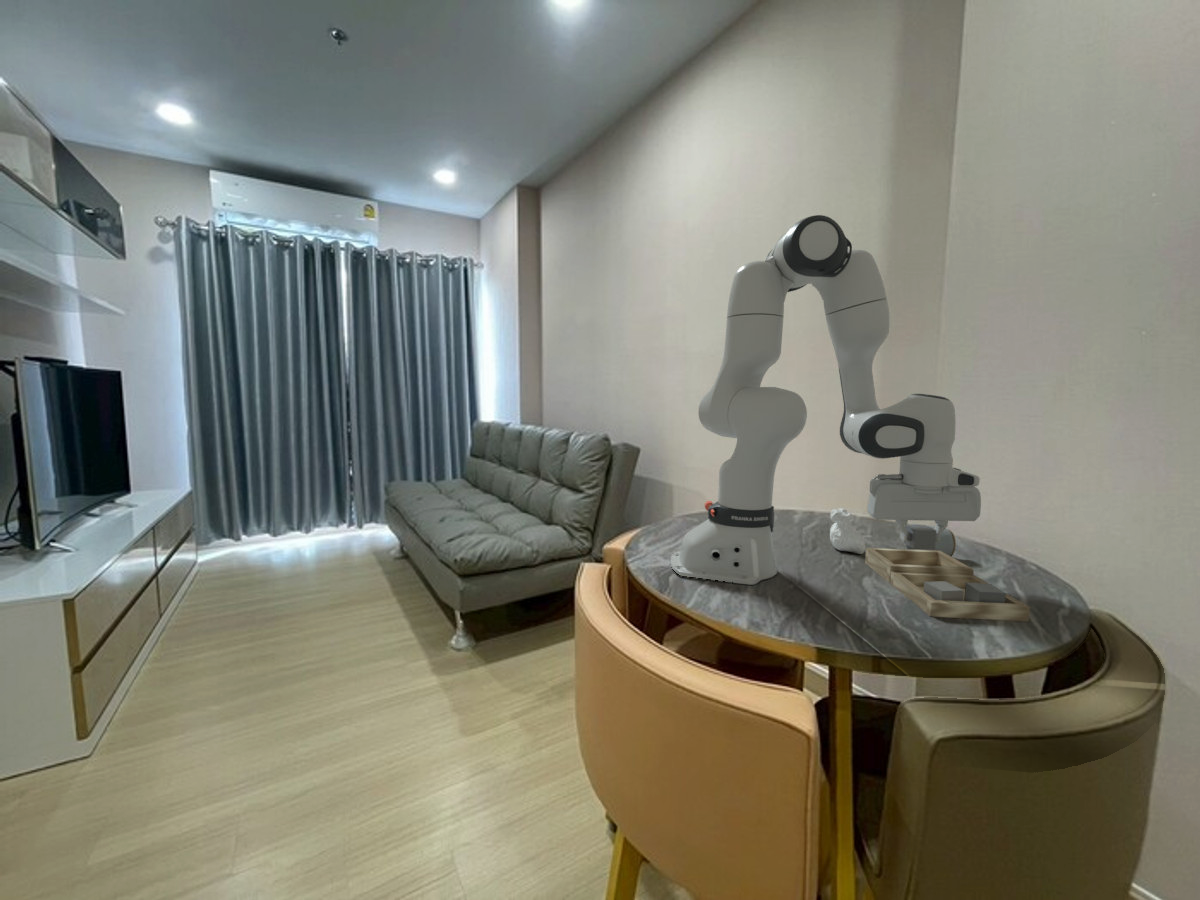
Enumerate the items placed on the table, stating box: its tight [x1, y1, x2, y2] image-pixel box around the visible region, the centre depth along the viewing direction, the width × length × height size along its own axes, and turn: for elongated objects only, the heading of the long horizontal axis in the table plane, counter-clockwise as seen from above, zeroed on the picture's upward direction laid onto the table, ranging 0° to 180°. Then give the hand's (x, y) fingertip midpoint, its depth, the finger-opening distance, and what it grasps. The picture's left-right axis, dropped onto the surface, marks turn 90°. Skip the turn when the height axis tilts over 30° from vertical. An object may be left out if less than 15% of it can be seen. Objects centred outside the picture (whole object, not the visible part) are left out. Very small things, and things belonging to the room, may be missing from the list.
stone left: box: [924, 581, 964, 601], centre depth 85 cm, size 4×4×4 cm
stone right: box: [964, 583, 1007, 603], centre depth 84 cm, size 4×4×4 cm
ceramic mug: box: [905, 523, 957, 558], centre depth 114 cm, size 11×8×8 cm
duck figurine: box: [829, 507, 866, 555], centre depth 118 cm, size 12×8×11 cm
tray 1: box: [864, 547, 974, 584], centre depth 101 cm, size 15×11×4 cm
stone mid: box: [903, 524, 936, 550], centre depth 100 cm, size 4×4×4 cm
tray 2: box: [889, 572, 1031, 622], centre depth 88 cm, size 15×14×3 cm
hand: (919, 540), depth 100 cm, fingers closed on stone mid, 4 cm apart
